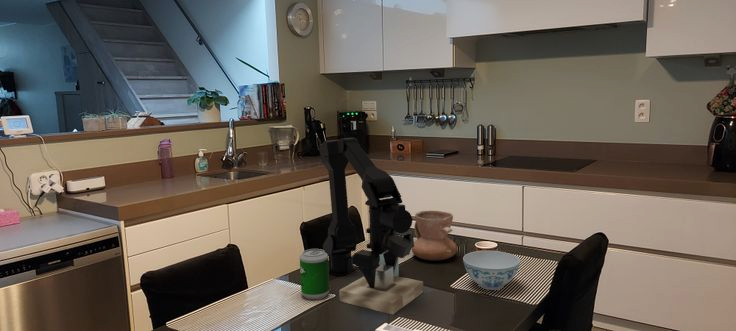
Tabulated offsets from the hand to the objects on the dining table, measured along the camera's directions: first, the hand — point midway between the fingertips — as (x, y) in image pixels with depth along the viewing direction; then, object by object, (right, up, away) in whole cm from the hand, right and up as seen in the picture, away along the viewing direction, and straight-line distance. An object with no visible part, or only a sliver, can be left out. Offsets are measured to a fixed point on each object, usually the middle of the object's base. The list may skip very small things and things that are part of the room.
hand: (381, 282), depth 137 cm
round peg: (+2, -2, +16) cm, 16 cm away
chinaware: (+30, -3, +6) cm, 31 cm away
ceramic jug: (+17, +1, +32) cm, 36 cm away
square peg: (0, -4, +1) cm, 4 cm away
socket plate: (0, -4, +1) cm, 4 cm away
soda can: (-18, -4, +3) cm, 18 cm away
